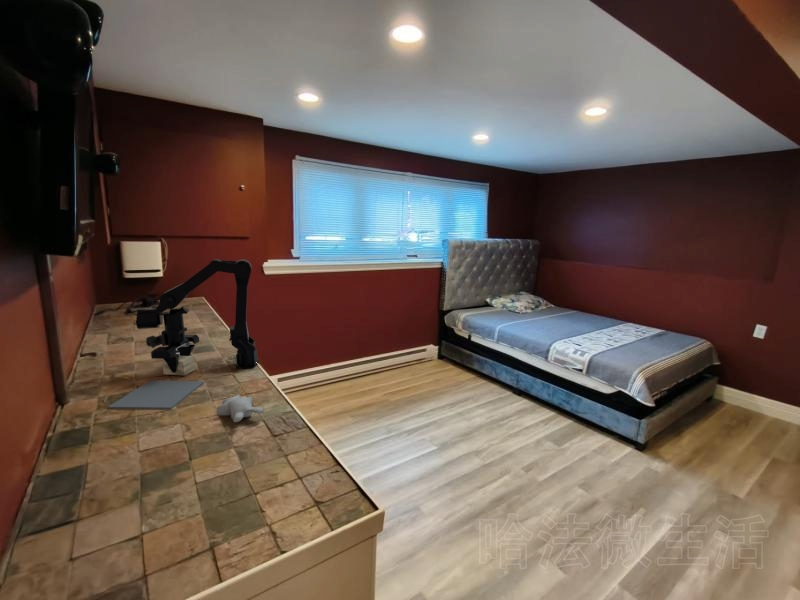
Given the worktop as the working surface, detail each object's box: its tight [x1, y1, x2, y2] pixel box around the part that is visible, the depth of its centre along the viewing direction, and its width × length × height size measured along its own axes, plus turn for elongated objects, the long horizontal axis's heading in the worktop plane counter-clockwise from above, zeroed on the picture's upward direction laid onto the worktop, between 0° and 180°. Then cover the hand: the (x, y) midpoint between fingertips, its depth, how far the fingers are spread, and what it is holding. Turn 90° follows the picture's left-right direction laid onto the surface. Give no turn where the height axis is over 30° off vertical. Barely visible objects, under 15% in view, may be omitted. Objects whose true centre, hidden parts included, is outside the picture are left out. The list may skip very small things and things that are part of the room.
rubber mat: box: [107, 380, 205, 410], centre depth 112 cm, size 18×18×1 cm
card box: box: [161, 355, 196, 376], centre depth 128 cm, size 8×6×5 cm
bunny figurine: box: [216, 394, 265, 423], centre depth 100 cm, size 10×5×15 cm
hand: (179, 368), depth 128 cm, fingers closed on card box, 6 cm apart
